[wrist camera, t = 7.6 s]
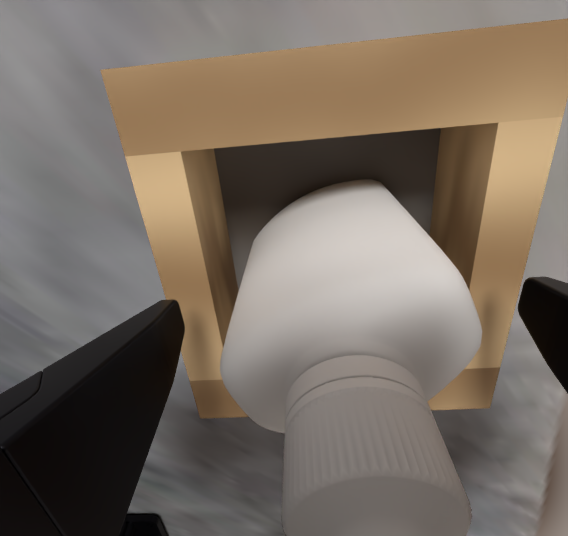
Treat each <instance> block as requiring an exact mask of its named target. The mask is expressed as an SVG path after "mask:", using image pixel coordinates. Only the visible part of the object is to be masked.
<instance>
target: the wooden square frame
mask: <svg viewBox="0 0 568 536" xmlns="http://www.w3.org/2000/svg"><path fill="white" fill-rule="evenodd" d="M101 74H102V77H103V81H104V84H105V88H106V91H107V95H108V98H109V102H110V105H111V109H112V112H113V116H114V119H115V123H116V126H117V130H118V133H119V137H120V140H121V144H122V147H123V151H124V154H125V157H126V161H127V164H128V168H129V171H130V175H131V178H132V182H133V185H134V189H135V192H136V196H137V199H138V203H139V206H140V210H141V213H142V217H143V220H144V224H145V227H146V231H147V234H148V238H149V241H150V245H151V248H152V252H153V255H154V259H155V262H156V266H157V269H158V273H159V276H160V280H161V283H162V287H163V290H164V294H165V297H166V300H170V299H175V300H177V301H178V303H179V306H180V309H181V313H182V317H183V320H184V324H185V334H184V338H183V343H182V347H181V353H182V356H183V360H184V363H185V367H186V370H187V374H188V377H189V381H190V384H191V388H192V391H193V395H194V398H195V402H196V405H197V409H198V412H199V416H200V419H201V418H229V417H249V416H248V415H247V414H246V413H245V412H244V411H243V410H242V409H241V407H240V406H239V405H238V404H237V403H236V401H235V400H234V399H233V398H232V396H231V395H230V393H229V392H228V390H227V389H226V387H225V385H224V383H223V380H222V377H221V373H220V360H221V355H222V351H223V347H224V343H225V339H226V335H227V331H228V327H229V324H230V320H231V317H232V313H233V310H234V306H235V302H236V299H237V295H238V292H239V288H240V285H241V282H242V278H243V275H244V271H245V268H246V265H247V261H248V258H249V254H250V251H251V248H252V244H253V241H254V239H255V238H256V237H257V235H258V234H259V232H260V231H261V230H262V229H263V228H264V226H265V225H266V224H267V223H268V222H269V221H270V220H271V219H272V218H273V217H274V216H275V215H277V214H278V213H279V212H280V211H281V210H283V209H284V208H285V207H287V206H288V205H289V204H291V203H292V202H294V201H296V200H297V199H299V198H301V197H303V196H304V195H306V194H309V193H311V192H313V191H315V190H318V189H321V188H323V187H326V186H330V185H333V184H337V183H342V182H347V181H353V180H364V179H371V180H375V181H378V182H381V183H382V184H383V185H384V186H385V188H386V189H387V190H388V191H389V192H390V193H391V194H392V195H393V196H394V197H395V198H396V200H397V201H398V202H399V203H400V204H401V205H402V206H403V207H404V208H405V209H406V211H407V212H408V213H409V214H410V215H411V216H412V217H413V218H414V219H415V220H416V222H417V223H418V224H419V225H420V226H421V227H422V228H423V229H424V231H425V232H426V233H427V234H428V235H429V236H430V237H431V238H432V239H433V241H434V242H435V243H436V244H437V245H438V246H439V247H440V249H441V250H442V251H443V252H444V253H445V255H446V256H447V257H448V258H449V259H450V261H451V262H452V263H453V264H454V265H455V266H456V268H457V269H458V270H459V272H460V274H461V275H462V277H463V279H464V281H465V283H466V285H467V287H468V289H469V291H470V294H471V297H472V299H473V302H474V305H475V308H476V310H477V313H478V316H479V320H480V324H481V328H482V338H481V345H480V348H479V349H478V351H477V353H476V354H475V356H474V357H473V359H472V360H471V362H470V363H469V364H468V365H467V366H466V367H465V368H464V370H463V371H462V372H461V373H460V374H459V375H458V376H457V377H456V378H454V379H453V380H452V381H451V382H450V383H449V384H448V385H447V386H446V387H445V388H444V389H442V390H441V391H440V392H439V393H438V394H436V395H435V396H434V397H433V398H431V399H430V400H429V401H427V402H428V404H429V407H430V409H431V410H453V409H481V408H490V405H491V401H492V397H493V393H494V390H495V386H496V382H497V378H498V374H499V370H500V366H501V362H502V358H503V354H504V350H505V346H506V342H507V338H508V334H509V330H510V326H511V322H512V318H513V314H514V310H515V306H516V302H517V298H518V294H519V290H520V286H521V282H522V278H523V274H524V270H525V266H526V262H527V258H528V254H529V250H530V246H531V242H532V238H533V234H534V230H535V226H536V222H537V218H538V214H539V210H540V206H541V202H542V198H543V194H544V190H545V186H546V182H547V178H548V174H549V170H550V166H551V162H552V158H553V154H554V150H555V146H556V142H557V138H558V134H559V130H560V126H561V122H562V118H563V114H564V110H565V106H566V102H567V98H568V19H560V20H551V21H542V22H533V23H524V24H515V25H506V26H497V27H488V28H478V29H469V30H460V31H451V32H442V33H433V34H424V35H415V36H406V37H396V38H387V39H378V40H369V41H360V42H351V43H342V44H333V45H323V46H314V47H305V48H296V49H287V50H278V51H269V52H260V53H251V54H241V55H232V56H223V57H214V58H205V59H196V60H187V61H178V62H169V63H159V64H150V65H141V66H132V67H123V68H114V69H105V70H101Z"/></svg>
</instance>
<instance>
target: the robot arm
mask: <svg viewBox="0 0 568 536" xmlns="http://www.w3.org/2000/svg"><path fill="white" fill-rule="evenodd" d="M518 312H519V315H520V317H521V319H522V320H523V322H524V324H525V326H526V328H527V329H528V331H529V333H530V335H531V336H532V338H533V340H534V342H535V344H536V345H537V347H538V349H539V351H540V353H541V354H542V356H543V358H544V359H545V361H546V363H547V364H548V366H549V367H550V369H551V370H552V372H553V373H554V375H555V376H556V378H557V379H558V380H559V382H560V383H561V385H562V386H563V387H564V389H565V390H566V392H567V393H568V283H565V282H562V281H559V280H555V279H552V278H549V277H531V278H528V279H526V280H525V282H524V284H523V288H522V292H521V296H520V300H519V304H518ZM184 334H185V324H184V320H183V317H182V313H181V309H180V306H179V303H178V301H177V300H175V299H170V300H161V301H159V302H157V303H156V304H154V305H152V306H150V307H149V308H147V309H145V310H144V311H142V312H140V313H139V314H137V315H135V316H133V317H132V318H130V319H128V320H127V321H125V322H123V323H121V324H120V325H118V326H116V327H115V328H113V329H111V330H110V331H108V332H106V333H104V334H103V335H101V336H99V337H98V338H96V339H94V340H92V341H91V342H89V343H87V344H86V345H84V346H82V347H81V348H79V349H77V350H75V351H74V352H72V353H70V354H69V355H67V356H65V357H64V358H62V359H60V360H58V361H57V362H55V363H53V364H52V365H50V366H48V367H46V368H45V369H44V370H43V372H42V371H40V372H38V373H36V374H34V375H33V376H31V377H29V378H28V379H26V380H24V381H22V382H21V383H19V384H17V385H15V386H14V387H12V388H10V389H8V390H7V391H5V392H3V393H1V394H0V536H167V535H166V533H165V531H164V528H163V526H162V524H161V522H160V520H159V518H158V517H157V516H155V515H126V514H127V511H128V508H129V506H130V503H131V500H132V497H133V494H134V491H135V489H136V486H137V483H138V480H139V477H140V475H141V472H142V469H143V466H144V463H145V461H146V458H147V455H148V452H149V449H150V446H151V444H152V441H153V438H154V435H155V432H156V430H157V427H158V424H159V421H160V418H161V416H162V413H163V410H164V407H165V404H166V402H167V399H168V396H169V393H170V390H171V387H172V384H173V381H174V377H175V373H176V369H177V365H178V360H179V356H180V351H181V347H182V343H183V338H184Z"/></svg>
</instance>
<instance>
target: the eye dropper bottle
mask: <svg viewBox="0 0 568 536" xmlns="http://www.w3.org/2000/svg"><path fill="white" fill-rule="evenodd" d="M481 338H482V328H481V324H480V320H479V316H478V313H477V310H476V308H475V305H474V302H473V299H472V297H471V294H470V291H469V289H468V287H467V285H466V283H465V281H464V279H463V277H462V275H461V274H460V272H459V270H458V269H457V268H456V266H455V265H454V264H453V263H452V262H451V261H450V259H449V258H448V257H447V256H446V255H445V253H444V252H443V251H442V250H441V249H440V247H439V246H438V245H437V244H436V243H435V242H434V241H433V239H432V238H431V237H430V236H429V235H428V234H427V233H426V232H425V231H424V229H423V228H422V227H421V226H420V225H419V224H418V223H417V222H416V220H415V219H414V218H413V217H412V216H411V215H410V214H409V213H408V212H407V211H406V209H405V208H404V207H403V206H402V205H401V204H400V203H399V202H398V201H397V200H396V198H395V197H394V196H393V195H392V194H391V193H390V192H389V191H388V190H387V189H386V188H385V186H384V185H383V184H382V183H381V182H378V181H375V180H371V179H364V180H353V181H347V182H342V183H337V184H333V185H330V186H326V187H323V188H321V189H318V190H315V191H313V192H311V193H309V194H306V195H304V196H303V197H301V198H299V199H297V200H296V201H294V202H292V203H291V204H289V205H288V206H287V207H285V208H284V209H283V210H281V211H280V212H279V213H278V214H277V215H275V216H274V217H273V218H272V219H271V220H270V221H269V222H268V223H267V224H266V225H265V226H264V228H263V229H262V230H261V231H260V232H259V234H258V235H257V237H256V238H255V239H254V241H253V244H252V248H251V251H250V254H249V258H248V261H247V265H246V268H245V271H244V275H243V278H242V282H241V285H240V288H239V292H238V295H237V299H236V302H235V306H234V310H233V313H232V317H231V320H230V324H229V327H228V331H227V335H226V339H225V343H224V347H223V351H222V355H221V360H220V373H221V377H222V380H223V383H224V385H225V387H226V389H227V390H228V392H229V393H230V395H231V396H232V398H233V399H234V400H235V401H236V403H237V404H238V405H239V406H240V407H241V409H242V410H243V411H244V412H245V413H246V414H247V415H248V416H249V417H250V418H251V419H252V420H253V421H254V422H255V423H257V424H258V425H260V426H262V427H263V428H266V429H268V430H272V431H275V432H280V433H285V435H284V463H283V489H282V515H281V521H282V527H283V529H284V533H285V534H286V536H466V534H467V532H468V530H469V527H470V524H471V518H472V514H471V511H472V509H471V507H470V502H469V500H468V498H467V495H466V493H465V490H464V488H463V486H462V483H461V481H460V478H459V476H458V474H457V471H456V469H455V467H454V464H453V462H452V459H451V457H450V455H449V452H448V450H447V447H446V445H445V443H444V440H443V438H442V435H441V433H440V431H439V428H438V426H437V423H436V421H435V419H434V416H433V414H432V412H431V409H430V407H429V404H428V402H427V401H429V400H430V399H431V398H433V397H434V396H435V395H436V394H438V393H439V392H440V391H441V390H442V389H444V388H445V387H446V386H447V385H448V384H449V383H450V382H451V381H452V380H453V379H454V378H456V377H457V376H458V375H459V374H460V373H461V372H462V371H463V370H464V368H465V367H466V366H467V365H468V364H469V363H470V362H471V360H472V359H473V357H474V356H475V354H476V353H477V351H478V349H479V348H480V345H481Z"/></svg>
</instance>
